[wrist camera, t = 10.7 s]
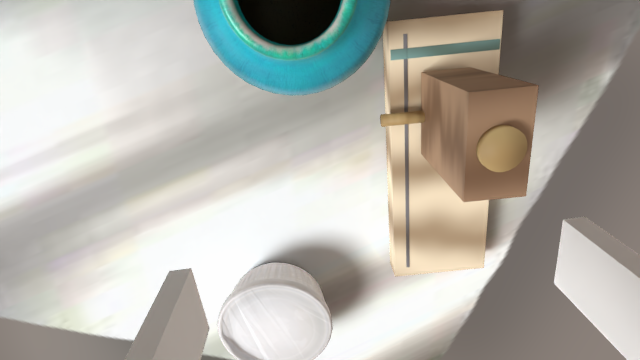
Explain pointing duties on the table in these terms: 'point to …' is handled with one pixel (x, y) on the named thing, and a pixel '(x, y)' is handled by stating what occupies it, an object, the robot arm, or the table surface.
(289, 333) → the ramekin
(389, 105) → the board
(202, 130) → the table surface
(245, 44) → the vase
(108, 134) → the table surface
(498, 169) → the tan boxy wooden piece
